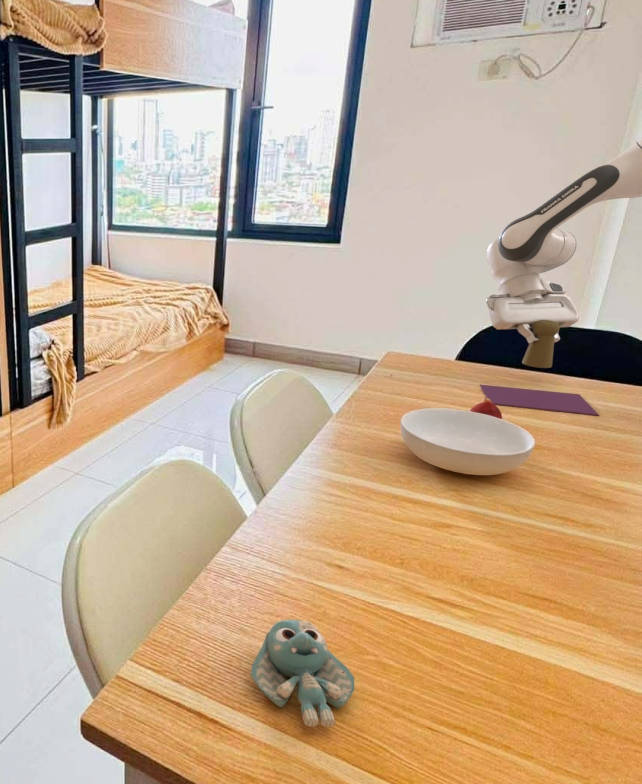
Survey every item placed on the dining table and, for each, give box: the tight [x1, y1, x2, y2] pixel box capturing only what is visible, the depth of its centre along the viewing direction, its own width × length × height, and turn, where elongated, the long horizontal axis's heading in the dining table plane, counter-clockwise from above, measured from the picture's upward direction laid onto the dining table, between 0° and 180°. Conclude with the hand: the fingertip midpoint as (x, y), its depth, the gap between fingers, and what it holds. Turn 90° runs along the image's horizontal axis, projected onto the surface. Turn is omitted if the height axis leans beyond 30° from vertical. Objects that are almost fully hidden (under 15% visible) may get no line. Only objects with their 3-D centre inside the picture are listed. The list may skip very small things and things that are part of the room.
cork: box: [521, 320, 561, 369], centre depth 153 cm, size 6×6×11 cm
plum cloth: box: [479, 383, 600, 417], centre depth 146 cm, size 20×14×1 cm
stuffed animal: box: [250, 619, 355, 728], centre depth 66 cm, size 11×7×12 cm
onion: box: [469, 397, 503, 420], centre depth 126 cm, size 6×6×8 cm
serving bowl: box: [400, 407, 536, 476], centre depth 115 cm, size 21×21×7 cm
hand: (544, 341), depth 152 cm, fingers closed on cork, 4 cm apart
